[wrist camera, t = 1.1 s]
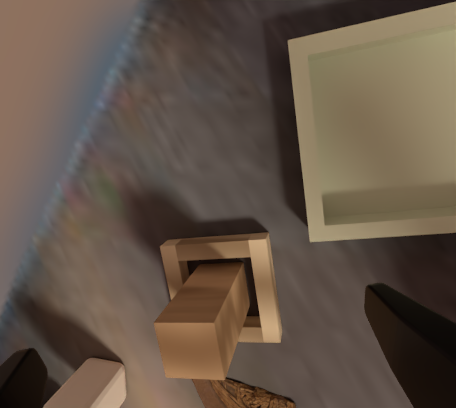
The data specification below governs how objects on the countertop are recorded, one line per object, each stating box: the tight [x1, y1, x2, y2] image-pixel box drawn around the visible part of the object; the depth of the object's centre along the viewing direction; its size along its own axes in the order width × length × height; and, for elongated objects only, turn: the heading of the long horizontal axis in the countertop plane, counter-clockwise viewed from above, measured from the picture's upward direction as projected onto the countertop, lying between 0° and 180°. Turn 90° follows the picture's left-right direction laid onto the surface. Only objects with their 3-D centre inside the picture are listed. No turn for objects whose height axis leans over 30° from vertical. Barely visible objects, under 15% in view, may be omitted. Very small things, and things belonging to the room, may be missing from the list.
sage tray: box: [288, 2, 456, 242], centre depth 19 cm, size 12×12×2 cm
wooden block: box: [154, 262, 250, 380], centre depth 22 cm, size 4×4×8 cm
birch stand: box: [160, 232, 282, 343], centre depth 25 cm, size 8×8×2 cm
